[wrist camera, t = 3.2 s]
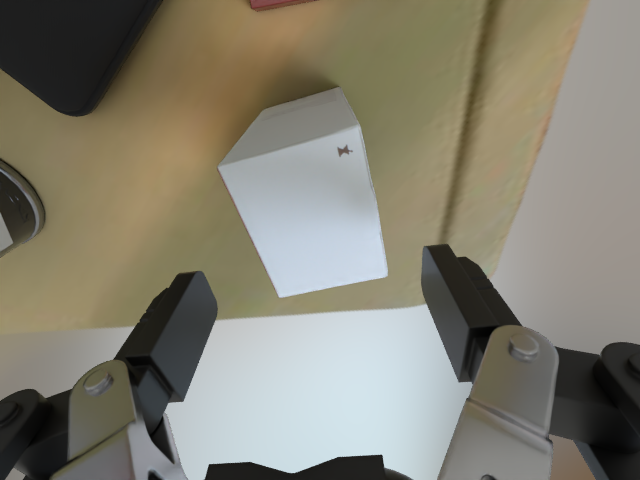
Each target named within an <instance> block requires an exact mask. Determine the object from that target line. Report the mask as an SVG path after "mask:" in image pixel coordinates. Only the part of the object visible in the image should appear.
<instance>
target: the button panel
mask: <svg viewBox="0 0 640 480" xmlns="http://www.w3.org/2000/svg"><path fill="white" fill-rule="evenodd" d="M312 1H317V0H250V3H251V8H252V9H253V10H255V11H257V12H258V11H263V10H269V9H274V8H279V7H285V6H290V5H296V4H301V3H306V2H312Z"/></svg>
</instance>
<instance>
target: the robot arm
mask: <svg viewBox="0 0 640 480" xmlns="http://www.w3.org/2000/svg"><path fill="white" fill-rule="evenodd" d="M44 221H45V216H44V210H43V207H42V204H41V202H40V200H39V198H38V196H37V194H36V193H35V191H34V190H33V189H32V187H31V186H30V185H29V184H28V183H27V182H26V180H25V179H24V178H23V177H22V176H20V175H19V174H18V173H17V172H16V171H15V170H13V169H12V168H11V167H9V166H8V165H6V164H5V163H3V162H2V161H0V258H1V257H2V256H4V255H5V254H7V253H8V252H10V251H11V250H13V249H14V248H16V247H17V246H19V245H20V244H23V243H25V242H27V241H29V240H30V239H32V238H33V237H35V236H36V235H37V234H39V232H40V231H41V230H42V228H43V225H44ZM421 285H422V291H423V295H424V298H425V301H426V303H427V305H428V308H429V310H430V313H431V315H432V318H433V320H434V323H435V325H436V328H437V330H438V332H439V335H440V337H441V340H442V342H443V345H444V347H445V350H446V352H447V355H448V357H449V359H450V362H451V364H452V367H453V369H454V372H455V374H456V376H457V379H458V381H459V382H472V384H473V386H472V389H471V392H470V395H469V397H468V398H467V399H466V401H465V404H464V406H463V409H462V412H461V414H460V417H459V420H458V423H457V425H456V428H455V431H454V434H453V437H452V439H451V442H450V445H449V448H448V450H447V453H446V456H445V459H444V462H443V464H442V467H441V470H440V473H439V476H438V478H437V480H550V475H551V466H552V458H553V442H552V441H551V440H550V439H549V434H552V435H556V436H560V437H563V438H567V439H571V440H573V441H574V442H575V444H576V446H577V447H578V449H579V451H580V453H581V455H582V456H583V458H584V460H585V461H586V463H587V465H588V467H589V468H590V470H591V472H592V473H593V475H594V477H595V479H596V480H640V345H637V344H633V343H627V342H618V343H612V344H609V345H607V346H606V347H605V348H604V349H603V350H602V352H601V354H600V355H597V354H592V353H586V352H580V351H574V350H568V349H563V348H559V347H555V346H553V344H552V343H551V342H550V341H549V340H548V339H547V338H545V337H544V336H543V335H541V334H539V333H538V332H536V331H534V330H532V329H529V328H526V327H523V326H522V325H521V324H520V322H519V321H518V320H517V318H516V317H515V315H514V314H513V312H512V311H511V310H510V308H509V307H508V306H507V304H506V303H505V301H504V300H503V299H502V297H501V296H500V294H498V292H497V290H496V289H495V288H494V287H493V285H492V283H491V282H490V280H489V279H487V276H486V275H485V273H484V272H483V271H482V269H481V268H480V267H479V265H477V264H476V263H474V262H473V261H471V260H470V259H468V258H467V257H456V256H455V254H454V253H453V251H452V249H451V248H450V246H449V245H448V244H440V245H431V246H424V248H423V257H422V275H421ZM217 311H218V308H217V302H216V299H215V297H214V295H213V293H212V290H211V288H210V286H209V284H208V282H207V279H206V277H205V275H204V274H203V272H201V271H194V272H185V273H179V274H178V275H177V276H176V277H175V279H174V280H173V282H172V283H171V285H170V287H169V288H166V289H165V290H163V291H162V292H161V293H160V294H159V295H158V296H157V297H156V298H154V300H153V301H152V303H151V304H150V306H149V307H148V309H147V310H146V313H144V314H143V316H142V317H141V319H140V323H137V325H136V326H135V328H134V329H133V331H132V332H131V334H130V335H129V337H128V338H127V340H126V342H125V343H124V344H123V346H122V347H121V349H120V350H119V352H118V353H117V355H116V357H115V358H114V359H113V360H110V361H106V362H104V363H101V364H99V365H97V366H95V367H94V368H92V369H91V370H89V371H88V372H87V373H86V374H84V375H83V376H82V377H81V378H80V379H79V380H78V382H77V383H76V384H75V385H74V387H73V388H72V389H70V390H68V391H65V392H62V393H59V394H56V395H53V396H51V397H48V398H44V397H43V396H42V395H41V394H40V393H38V392H37V391H36V390H34V389H25V390H21V391H18V392H16V393H13V394H11V395H9V396H7V397H6V398H4V399H2V400H1V401H0V480H5V479H6V477H7V476H8V474H9V473H10V471H11V470H12V469H13V468H15V469H17V470H19V471H20V472H22V473H23V474H25V475H26V476H25V477H24V479H23V480H188V479H187V477H186V475H185V473H184V471H183V468H182V465H181V462H180V458H179V455H178V451H177V448H176V444H175V441H174V437H173V434H172V430H171V427H170V423H169V420H168V417H167V414H166V413H165V412H164V411H165V409H166V407H167V404H168V403H170V402H183V401H184V398H185V396H186V393H187V391H188V388H189V386H190V383H191V381H192V378H193V376H194V373H195V370H196V368H197V365H198V363H199V360H200V358H201V355H202V353H203V350H204V347H205V345H206V342H207V340H208V337H209V335H210V332H211V330H212V327H213V325H214V322H215V320H216V317H217ZM205 480H413V479H411V478H409V477H407V476H406V475H403V474H401V473H399V472H396V471H394V470H391V469H387V468H384V464H383V456H382V455H369V456H351V457H337V458H335V459H332V460H329V461H326V462H324V463H321V464H319V465H316V466H313V467H310V468H308V469H305V470H302V471H300V472H297V473H287V472H283V471H279V470H276V469H273V468H269V467H266V466H262V465H259V464H255V463H252V462H242V463H224V464H209V467H208V470H207V474H206V477H205Z"/></svg>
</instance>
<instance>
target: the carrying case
mask: <svg viewBox="0 0 640 480" xmlns="http://www.w3.org/2000/svg"><path fill="white" fill-rule="evenodd" d="M162 1H163V0H0V68H1V69H2V70H3V71H4V72H6V73H7V74H8V75H10V76H11V77H12V78H14V79H15V80H16V81H18V82H19V83H20V84H22V85H23V86H24V87H26V88H27V89H28V90H29V91H31V92H32V93H33V94H35V95H36V96H37V97H39V98H40V99H41V100H43V101H44V102H45V103H47V104H48V105H49V106H51V107H52V108H53V109H55V110H56V111H58V112H60V113H63V114H66V115H69V116H76V117H78V116H84V115H87V114H90V113H92V112H93V111H94V109H95V108H96V107H97V106H98V104H99V103H100V101H101V100H102V98H103V97H104V95H105V93H106V92H107V90H108V89H109V87H110V85H111V84H112V82H113V80H114V79H115V77H116V76H117V74H118V72H119V71H120V69H121V67H122V66H123V64H124V63H125V61H126V59H127V58H128V56H129V54H130V53H131V51H132V50H133V48H134V46H135V45H136V43H137V42H138V40H139V38H140V37H141V35H142V33H143V32H144V30H145V29H146V27H147V25H148V24H149V22H150V21H151V19H152V17H153V16H154V14H155V13H156V11H157V9H158V8H159V6H160V4H161V3H162Z"/></svg>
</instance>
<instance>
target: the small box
mask: <svg viewBox="0 0 640 480" xmlns="http://www.w3.org/2000/svg"><path fill="white" fill-rule="evenodd" d="M217 170H218V172H219V174H220V176H221V178H222V180H223V182H224V185H225V187H226V189H227V191H228V193H229V195H230V197H231V199H232V201H233V203H234V205H235V207H236V209H237V212H238V214H239V216H240V218H241V220H242V222H243V224H244V226H245V228H246V230H247V232H248V234H249V236H250V239H251V241H252V243H253V245H254V247H255V249H256V251H257V253H258V256H259V258H260V260H261V262H262V263H263V266H264V268H265V270H266V272H267V274H268V276H269V278H270V280H271V282H272V284H273V286H274V289H275V291H276V293H277V295H278V297H280V298H281V297H287V296H292V295H297V294H302V293H306V292H312V291H317V290H322V289H327V288H332V287H337V286H342V285H346V284H352V283H357V282H362V281H367V280H372V279H378V278H384V277H387V275H388V269H387V262H386V256H385V250H384V244H383V238H382V232H381V226H380V219H379V212H378V206H377V201H376V195H375V191H374V188H373V184H372V180H371V175H370V170H369V165H368V160H367V155H366V150H365V145H364V140H363V135H362V131H361V126H360V124H359V122H358V120H357V118H356V116H355V114H354V112H353V111H352V108H351V107H350V105H349V103H348V101H347V100H346V98H345V96H344V94H343V91H342V89H341V87H337V88H334V89H330V90H327V91H324V92H320V93H317V94H314V95H310V96H307V97H304V98H300V99H297V100H293V101H290V102H287V103H283V104H280V105H276V106H273V107H270V108H266V109H264V110H263V111H262V112H261V113H260V114H259V116H258V117H257V118H256V119H255V120H254V121H253V123H252V124H251V125H250V126H249V128H248V129H247V130H246V131H245V133H244V134H243V135H242V136H241V138H240V139H239V140H238V141H237V143H236V144H235V145H234V146H233V148H232V149H231V150H230V151H229V152H228V154H227V155H226V156H225V158H224V159H223V160H222V161H221V163H220V164H219V165H218V166H217Z"/></svg>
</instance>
